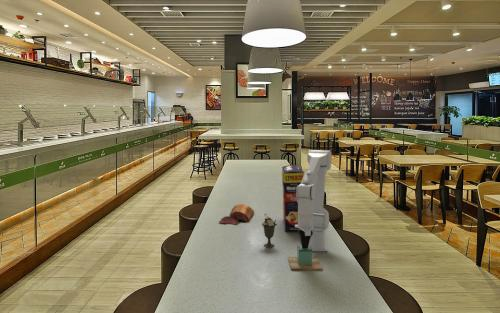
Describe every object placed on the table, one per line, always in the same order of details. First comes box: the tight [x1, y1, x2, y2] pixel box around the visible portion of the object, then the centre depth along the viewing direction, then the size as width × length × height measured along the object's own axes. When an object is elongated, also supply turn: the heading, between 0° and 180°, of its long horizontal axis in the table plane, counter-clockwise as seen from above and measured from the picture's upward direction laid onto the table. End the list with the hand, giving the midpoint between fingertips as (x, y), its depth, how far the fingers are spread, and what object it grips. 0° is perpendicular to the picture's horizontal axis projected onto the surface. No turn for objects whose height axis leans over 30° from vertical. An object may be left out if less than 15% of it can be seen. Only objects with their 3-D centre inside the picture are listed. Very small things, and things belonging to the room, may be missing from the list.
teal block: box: [296, 245, 313, 265], centre depth 148 cm, size 5×5×6 cm
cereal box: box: [281, 164, 305, 233], centre depth 201 cm, size 27×11×32 cm, turn 177°
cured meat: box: [218, 203, 255, 226], centre depth 215 cm, size 18×25×7 cm
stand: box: [287, 256, 324, 272], centre depth 148 cm, size 12×12×5 cm
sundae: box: [261, 213, 278, 249], centre depth 169 cm, size 7×7×15 cm
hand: (304, 248), depth 148 cm, fingers closed, pressing on teal block
